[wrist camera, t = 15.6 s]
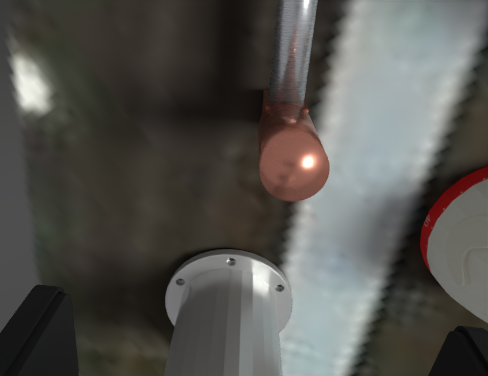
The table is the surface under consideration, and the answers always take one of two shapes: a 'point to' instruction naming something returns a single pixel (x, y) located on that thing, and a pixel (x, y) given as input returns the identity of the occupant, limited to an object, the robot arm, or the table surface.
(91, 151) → the table surface
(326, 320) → the table surface
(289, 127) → the copper head hammer
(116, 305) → the table surface
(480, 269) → the kitchen timer
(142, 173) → the table surface
